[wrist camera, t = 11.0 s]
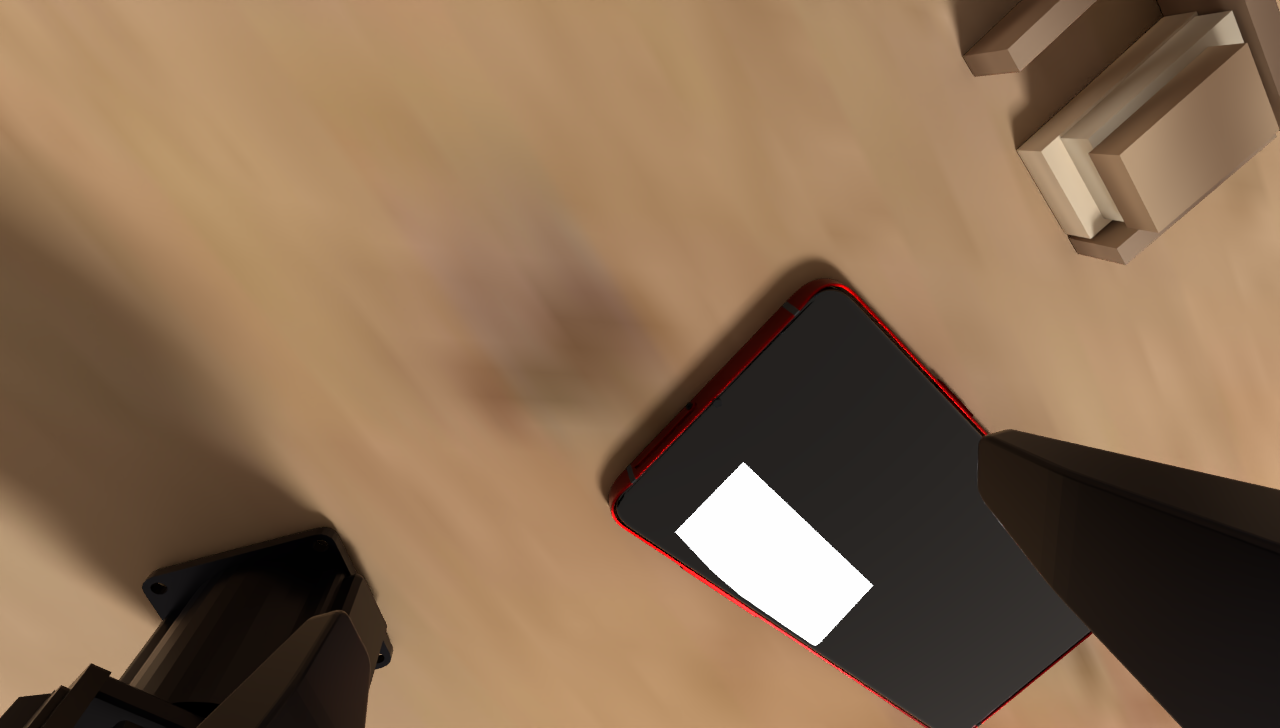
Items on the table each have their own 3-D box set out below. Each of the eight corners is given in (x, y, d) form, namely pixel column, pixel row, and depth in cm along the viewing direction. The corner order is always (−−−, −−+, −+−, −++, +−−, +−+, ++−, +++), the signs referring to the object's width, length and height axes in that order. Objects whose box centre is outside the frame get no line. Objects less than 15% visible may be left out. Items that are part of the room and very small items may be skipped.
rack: (1078, 253, 23) (1139, 268, 21) (858, -122, 17) (909, -160, 15) (1233, 119, 22) (1315, 118, 20) (1054, -325, 16) (1140, -398, 14)
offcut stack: (1065, 233, 22) (1149, 251, 19) (1016, 150, 21) (1098, 154, 18) (1203, 112, 22) (1313, 111, 19) (1162, 16, 20) (1275, -3, 17)
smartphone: (955, 753, 32) (593, 518, 22) (937, 726, 33) (589, 494, 24) (1147, 597, 30) (837, 266, 20) (1118, 575, 31) (817, 256, 22)
